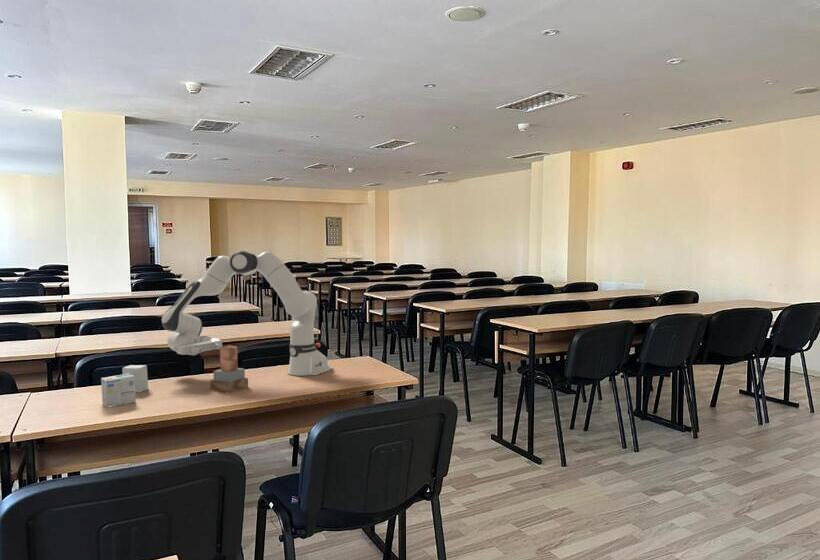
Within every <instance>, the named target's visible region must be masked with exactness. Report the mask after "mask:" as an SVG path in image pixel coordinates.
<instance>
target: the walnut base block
mask: <svg viewBox="0 0 820 560" xmlns="http://www.w3.org/2000/svg"><path fill="white" fill-rule="evenodd" d="M246 387H247V388H249V378H248V377H245V378H243V379H239V380H236V381H233V382H230V383H229V382H222V381H215V380H214V378H212V379H210V389H211V390H213V389H215V390H214V391H217V390H219V391H218V392H221V391H222V392H221V393H225V392H226V393H225V394H228V393H231V391H232V392H235V391H234V390H236V391H238V389H239V390H243V389H245V388H246ZM242 388H243V389H242ZM247 388H246V389H247ZM227 392H228V393H227Z"/></svg>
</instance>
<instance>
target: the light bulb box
mask: <svg viewBox="0 0 820 560" xmlns="http://www.w3.org/2000/svg"><path fill="white" fill-rule="evenodd" d="M100 383H101V385H100V386H101V398H102V399H101V401H102V405H103V404H104V405H105V406H106V408H107V407H108V408H110V407H109V406H113V407H118V406H117V405H119V406H122V404H124V405H127V404H133V403H132V402H134V403H136V402H137V400H136V392H135V378H134V375H131V374H129V373H128V374H119V375H118V374H117V375H112V376H107V377H106V376H105V377H101V378H100ZM104 405H103V406H104ZM105 406H104V407H105Z"/></svg>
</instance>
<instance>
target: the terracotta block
mask: <svg viewBox="0 0 820 560" xmlns="http://www.w3.org/2000/svg"><path fill="white" fill-rule="evenodd" d="M219 357H220V358H219V361H220V362H219V363H220V369H221V370H222V371H227V372H229V371H233V370H237V369H238V368H239V367H238V366H239V365H238V346H236V345H231V344H228V345H224V346H223V345H222V347H220V349H219Z"/></svg>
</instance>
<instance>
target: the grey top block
mask: <svg viewBox="0 0 820 560" xmlns="http://www.w3.org/2000/svg"><path fill="white" fill-rule="evenodd" d="M245 373H246V372H245V368H243V367H238V369H237V370H233V371H229V372H227V371H222V370H221V368H220V369H217V370H213V379H214V380H215V381H222V382H229V383H230V382H233V381H236V380H239V379H243V378H246V375H245Z"/></svg>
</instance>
